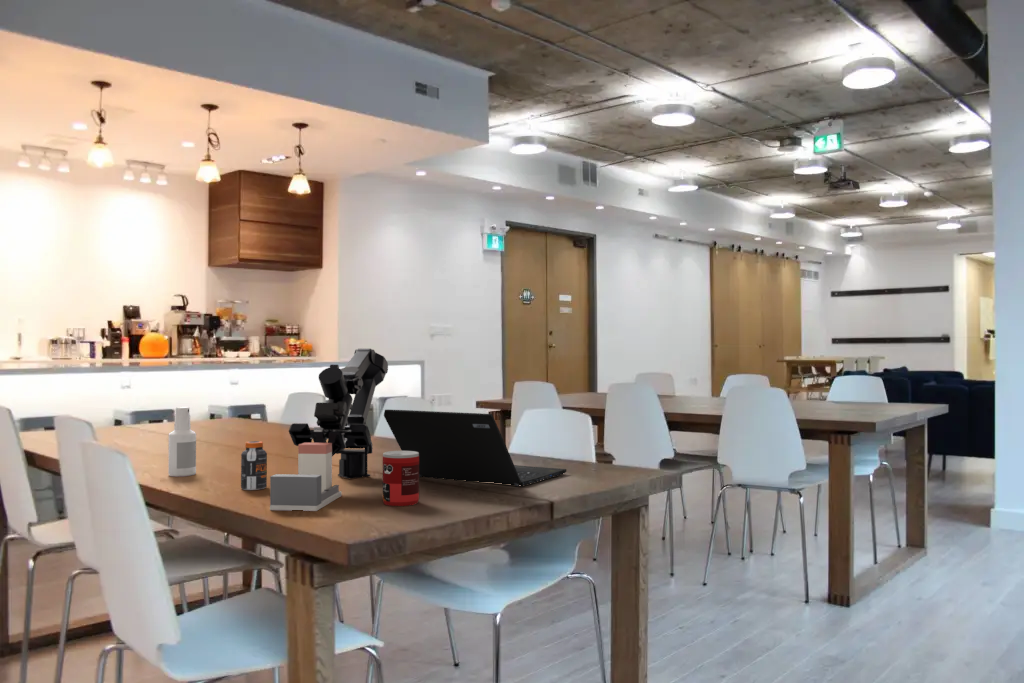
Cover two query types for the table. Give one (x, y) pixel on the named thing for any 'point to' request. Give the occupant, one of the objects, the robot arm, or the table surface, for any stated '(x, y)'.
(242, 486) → the pill bottle
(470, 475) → the laptop
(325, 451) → the cream and pink block
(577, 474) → the table surface
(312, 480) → the grey and white holder
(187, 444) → the spray bottle
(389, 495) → the canned food
